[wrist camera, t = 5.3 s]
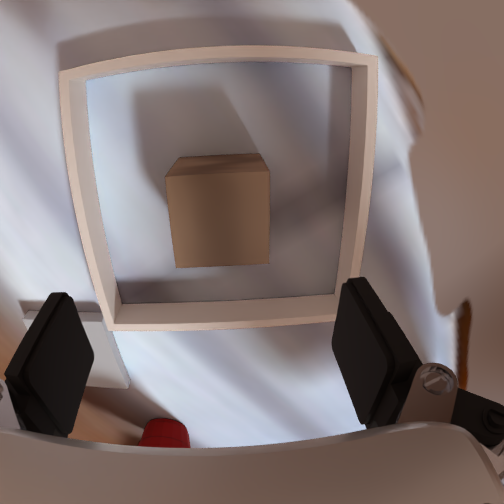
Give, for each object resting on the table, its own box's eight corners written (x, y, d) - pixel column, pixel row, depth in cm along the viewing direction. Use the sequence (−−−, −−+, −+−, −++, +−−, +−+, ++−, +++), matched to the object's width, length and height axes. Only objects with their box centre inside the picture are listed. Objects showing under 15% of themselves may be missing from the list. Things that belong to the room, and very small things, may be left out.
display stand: (105, 312, 29) (101, 321, 28) (130, 379, 34) (127, 389, 32) (28, 310, 28) (22, 318, 27) (59, 373, 33) (55, 382, 32)
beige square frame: (361, 59, 20) (377, 56, 18) (341, 300, 30) (350, 319, 28) (76, 73, 19) (58, 71, 16) (116, 310, 29) (108, 330, 26)
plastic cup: (112, 412, 37) (96, 487, 26) (182, 401, 36) (176, 488, 25) (153, 449, 42) (146, 515, 31) (216, 440, 41) (218, 513, 30)
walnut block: (259, 153, 23) (269, 171, 18) (260, 227, 26) (269, 263, 21) (179, 157, 23) (164, 176, 18) (185, 230, 26) (176, 268, 21)
